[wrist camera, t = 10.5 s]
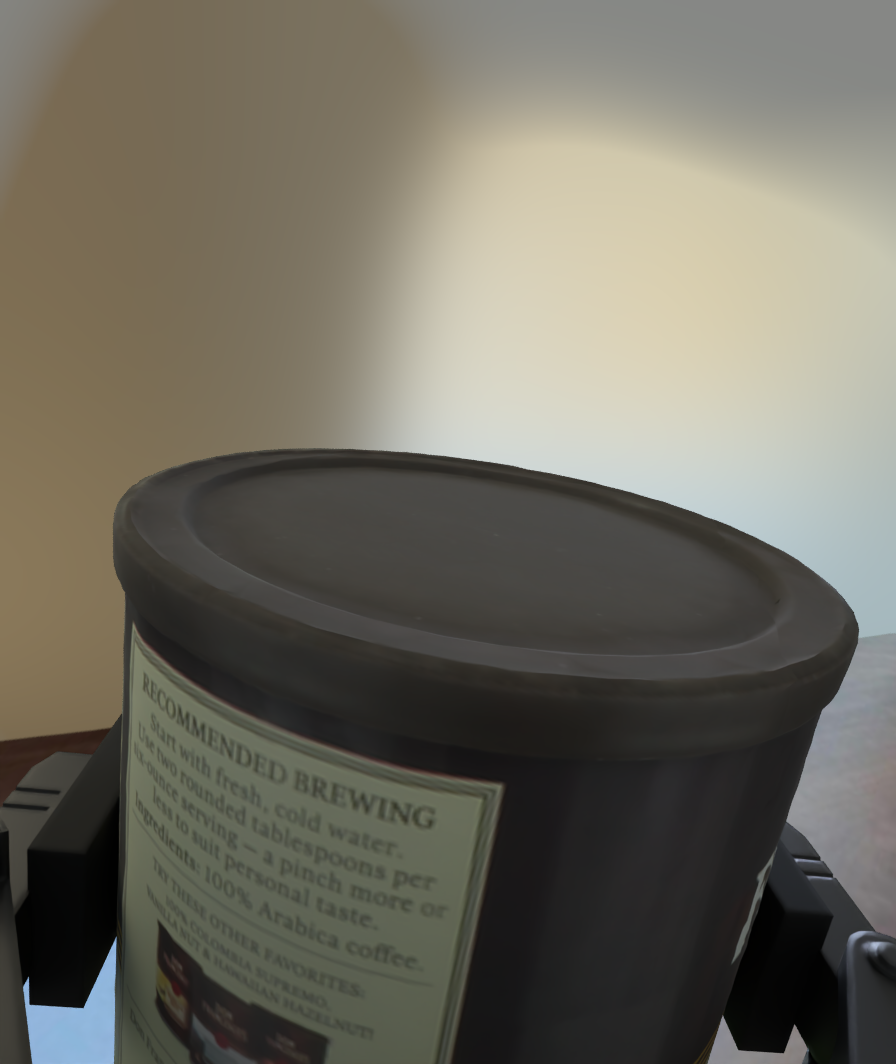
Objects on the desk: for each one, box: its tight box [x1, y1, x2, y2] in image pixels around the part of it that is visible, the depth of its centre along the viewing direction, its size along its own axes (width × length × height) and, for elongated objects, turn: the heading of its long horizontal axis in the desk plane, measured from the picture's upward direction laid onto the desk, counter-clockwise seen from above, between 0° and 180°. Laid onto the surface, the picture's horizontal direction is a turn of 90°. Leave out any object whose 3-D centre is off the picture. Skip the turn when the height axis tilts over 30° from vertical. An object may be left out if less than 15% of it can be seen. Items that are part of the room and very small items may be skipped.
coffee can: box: [113, 448, 859, 1064], centre depth 13 cm, size 10×10×14 cm
